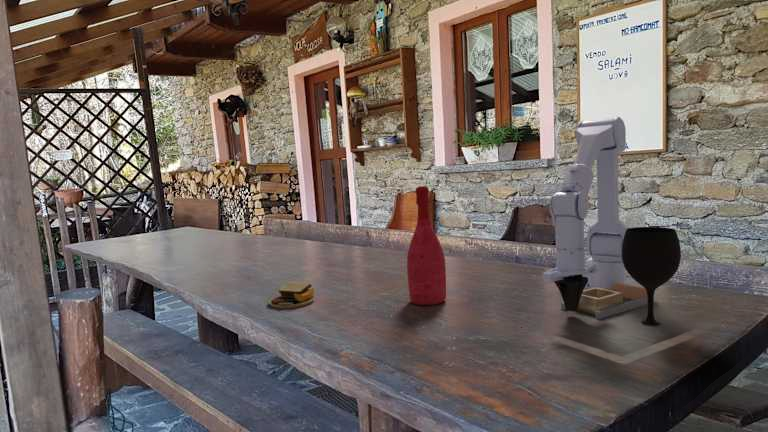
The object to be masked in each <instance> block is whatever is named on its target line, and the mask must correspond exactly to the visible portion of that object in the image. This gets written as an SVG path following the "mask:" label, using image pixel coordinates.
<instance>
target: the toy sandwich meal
mask: <svg viewBox="0 0 768 432" xmlns="http://www.w3.org/2000/svg"><path fill="white" fill-rule="evenodd" d="M314 291H315V288H314V287H312V282H308V281H302V280H299V281H298V280H297V281H296V280H295V281H293V280H292V281H289V282H288V283H286V284H285V285H283V286H282V287H281V288H279V290H278V294H280V295H278V296H275V297H271V299H269V300H268V302H267V303H268V304H269V306H271V308H274V309H280V308H281V309H295V308H301V307H305V306H308V305H309V304H311V303H312V302H313V301H314V300H315V295H314Z"/></svg>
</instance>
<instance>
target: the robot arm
mask: <svg viewBox="0 0 768 432" xmlns="http://www.w3.org/2000/svg"><path fill="white" fill-rule="evenodd" d="M575 127H576V128H575V141H576V143H577V145H578V149H577V153H576V157H575V161H574V164H573V165H570V166H569V167H568V168H567V170H566V172H565V175H564V178H563V180H562V183H561V186H560V188H559V191H557V192H555V194H553V195H552V196H551V197H550V201H549V203H550V204H549V213H550V215H551V220H552V226H553V227H554V231H555V235H554V237H555V259H556V260H555V262H556V263H555V267H554V268H552V269H550V270H548V271H545V272H542V280H543V283H546V284H547V283H548V284H553V283H554V284H555V286H556V287H557V289H558V292H560V296H561V297H562V301H563V302H564V305H565V308H566V310H565V311H568V312H569V311H570V312H572V313H574V312H577V311H579V310H578V306H579V302H580V298H581V295H582V292H583V290H587V289H591V288H595V287H597V288H602V289H607V290H610V289H612V283H614V282H616V283H621V284H627V271H626V269H625V267H624V264H623V261H622V243H623V239H624V235H625V232H626V229H628V228H631V227H630V226H629V225H628V224H626V223H624V222H623V221H621V220H620V212H619V211H620V210H619V208H620V207H619V205H620V204H619V203H620V202H619V197H620V196H619V155H620V154H621V153H623V152H625V151H626V147H627V146H626V145H627V142H626V137H627V136H626V124H625V122H624V120H623V119H622V118H621V117H620V116H617V117H613V118H603V119H593V120H580V121H579V122H578V123H577V125H576V126H575ZM595 163H596V189H597V190H596V193H597V194H596V195H597V197H596V198H597V221H596V222H595V223H593V224H592V225H591V226H589V227H588V230H587V237H586V242H585V222H584V219H585V218H587V216H588V215H587V214H588V212H589V202H590V196H589V192H590V189H591V186H592V183H593V180H594V177H595V175H594V172H593V170H592V169H593V167H594V165H595ZM585 243H586V244H585ZM585 245H586V247H585ZM585 248H586V252H587V254H588V255H589V256H590V257H589V258H587V260H586V261H585V258H586V257H585Z"/></svg>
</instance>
